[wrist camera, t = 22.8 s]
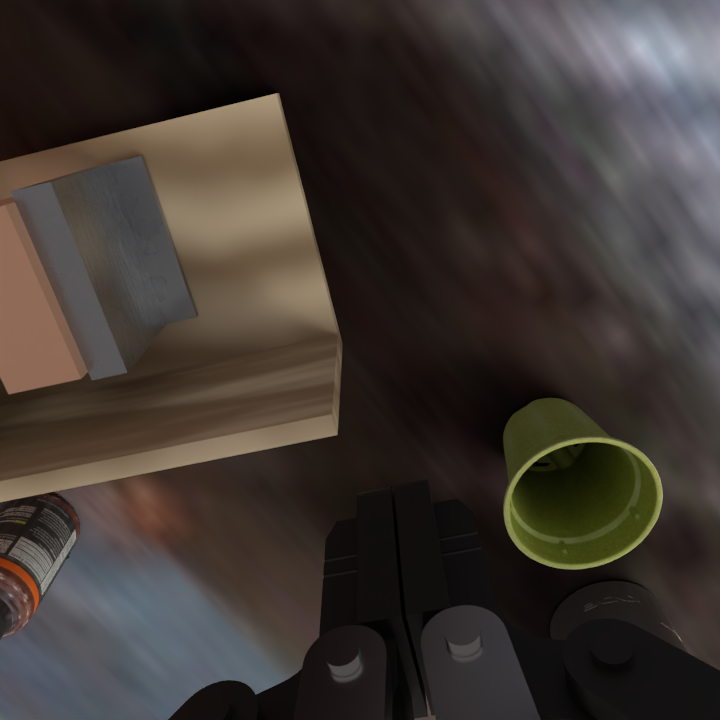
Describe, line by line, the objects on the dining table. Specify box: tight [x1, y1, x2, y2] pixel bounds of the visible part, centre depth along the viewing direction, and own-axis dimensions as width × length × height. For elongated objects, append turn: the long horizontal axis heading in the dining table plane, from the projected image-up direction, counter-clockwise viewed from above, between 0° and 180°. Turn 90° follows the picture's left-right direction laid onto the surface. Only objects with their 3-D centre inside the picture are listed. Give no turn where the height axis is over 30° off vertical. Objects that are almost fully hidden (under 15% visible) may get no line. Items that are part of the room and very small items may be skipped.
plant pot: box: [503, 398, 663, 569], centre depth 42 cm, size 9×9×9 cm
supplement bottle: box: [0, 493, 80, 639], centre depth 43 cm, size 6×6×11 cm
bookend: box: [11, 155, 198, 380], centre depth 35 cm, size 10×4×8 cm, turn 13°
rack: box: [0, 93, 343, 502], centre depth 35 cm, size 16×25×12 cm, turn 103°
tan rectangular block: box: [0, 197, 88, 394], centre depth 35 cm, size 4×9×9 cm, turn 13°
